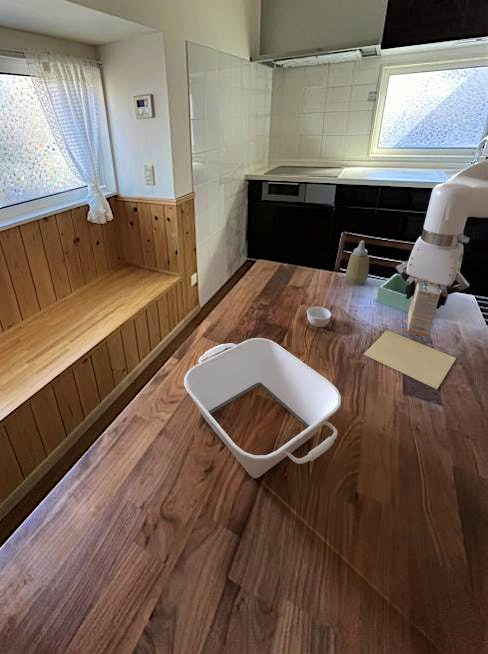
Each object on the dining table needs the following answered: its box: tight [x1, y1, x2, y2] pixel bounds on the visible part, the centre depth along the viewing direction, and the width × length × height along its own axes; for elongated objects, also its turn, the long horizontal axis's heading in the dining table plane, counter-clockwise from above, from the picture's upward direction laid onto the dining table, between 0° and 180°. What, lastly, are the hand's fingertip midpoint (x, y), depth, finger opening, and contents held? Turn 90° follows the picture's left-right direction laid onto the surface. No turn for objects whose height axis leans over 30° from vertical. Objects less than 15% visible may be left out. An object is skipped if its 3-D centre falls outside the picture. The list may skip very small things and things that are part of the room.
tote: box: [375, 272, 417, 313], centre depth 119 cm, size 13×15×6 cm
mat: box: [363, 329, 457, 390], centre depth 94 cm, size 18×16×1 cm
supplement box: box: [407, 278, 441, 337], centre depth 87 cm, size 8×5×13 cm, turn 149°
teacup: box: [306, 306, 332, 328], centre depth 110 cm, size 10×10×5 cm
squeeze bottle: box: [345, 240, 370, 286], centre depth 130 cm, size 8×8×18 cm
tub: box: [183, 337, 342, 479], centre depth 75 cm, size 34×27×13 cm
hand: (423, 301), depth 87 cm, fingers closed on supplement box, 6 cm apart
